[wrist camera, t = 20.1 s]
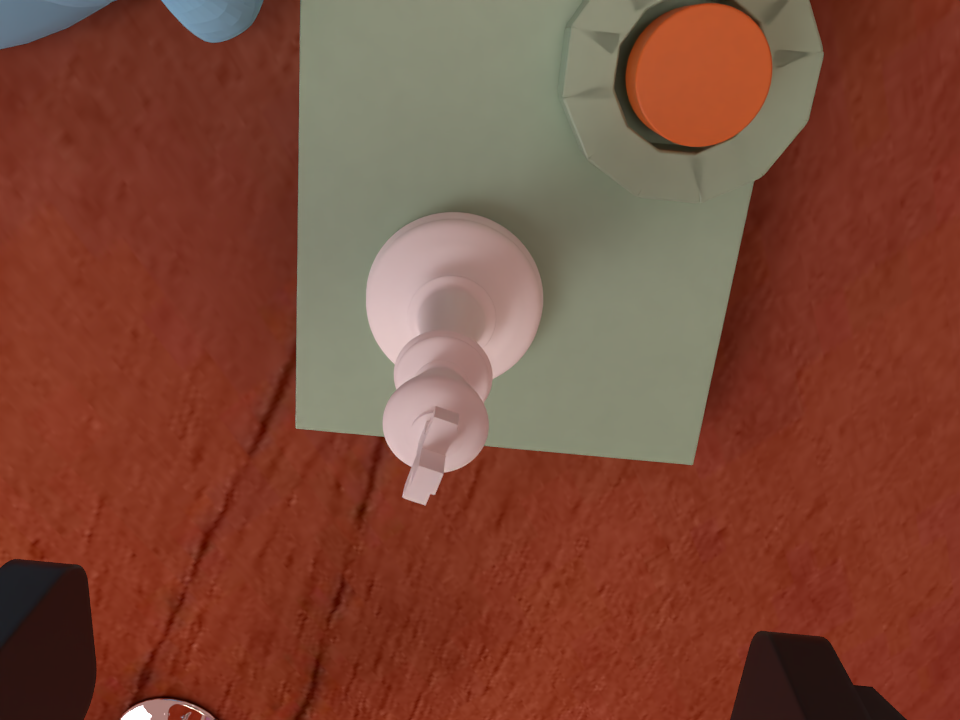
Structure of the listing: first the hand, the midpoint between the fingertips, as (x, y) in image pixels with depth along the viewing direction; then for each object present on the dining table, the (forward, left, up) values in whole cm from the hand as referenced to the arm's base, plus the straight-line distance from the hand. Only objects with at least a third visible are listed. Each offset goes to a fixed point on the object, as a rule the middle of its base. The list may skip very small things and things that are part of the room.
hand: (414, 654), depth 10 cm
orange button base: (-1, -3, -16) cm, 16 cm away
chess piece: (0, 0, -14) cm, 14 cm away
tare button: (-5, -7, -13) cm, 15 cm away
